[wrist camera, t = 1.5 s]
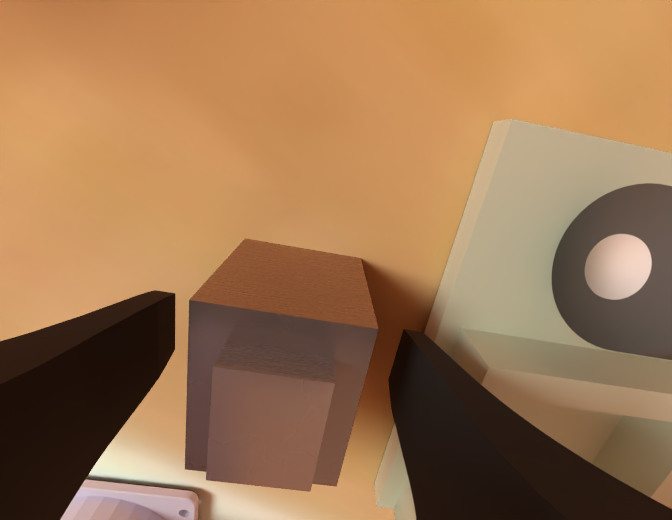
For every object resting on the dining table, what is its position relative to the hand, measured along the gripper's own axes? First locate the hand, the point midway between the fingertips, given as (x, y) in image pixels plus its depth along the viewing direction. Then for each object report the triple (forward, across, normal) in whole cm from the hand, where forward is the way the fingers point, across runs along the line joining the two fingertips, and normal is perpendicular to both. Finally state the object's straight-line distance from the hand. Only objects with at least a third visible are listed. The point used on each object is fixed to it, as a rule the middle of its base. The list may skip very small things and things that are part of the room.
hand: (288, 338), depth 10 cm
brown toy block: (+2, 0, 0) cm, 2 cm away
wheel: (+1, -8, -4) cm, 10 cm away
